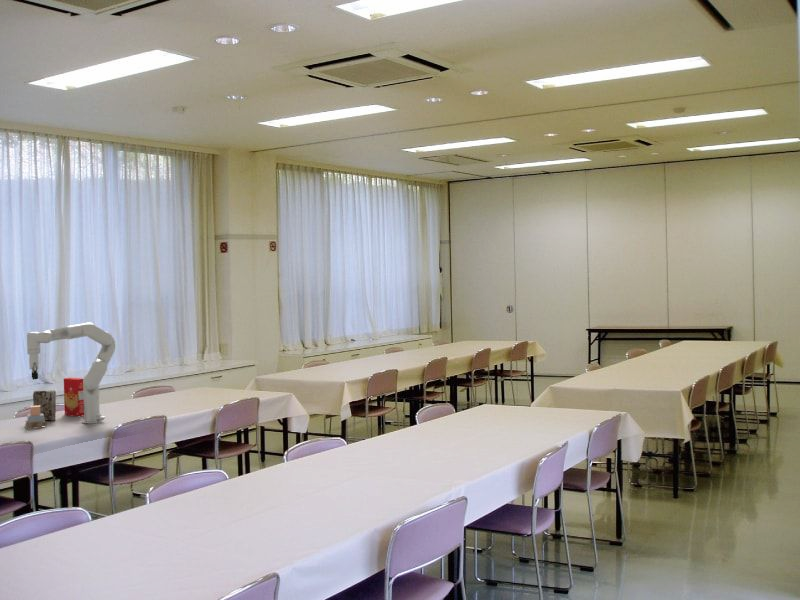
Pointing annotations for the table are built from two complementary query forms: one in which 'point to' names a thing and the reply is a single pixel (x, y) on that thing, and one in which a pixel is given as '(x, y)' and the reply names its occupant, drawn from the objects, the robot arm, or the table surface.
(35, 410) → the terracotta cube
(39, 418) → the tower top slab
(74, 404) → the food packaging
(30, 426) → the tower base slab
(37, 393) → the stone block
